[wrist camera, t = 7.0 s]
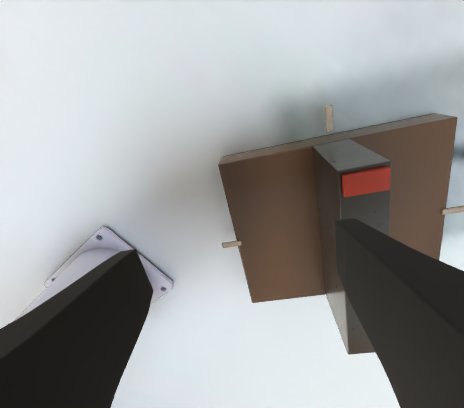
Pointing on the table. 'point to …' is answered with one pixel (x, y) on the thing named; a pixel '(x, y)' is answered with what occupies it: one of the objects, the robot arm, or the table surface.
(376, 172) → the red tipped gray strip
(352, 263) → the robot arm
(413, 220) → the base
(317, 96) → the table surface
